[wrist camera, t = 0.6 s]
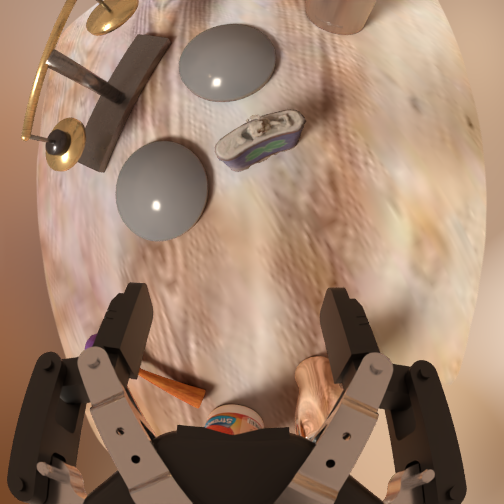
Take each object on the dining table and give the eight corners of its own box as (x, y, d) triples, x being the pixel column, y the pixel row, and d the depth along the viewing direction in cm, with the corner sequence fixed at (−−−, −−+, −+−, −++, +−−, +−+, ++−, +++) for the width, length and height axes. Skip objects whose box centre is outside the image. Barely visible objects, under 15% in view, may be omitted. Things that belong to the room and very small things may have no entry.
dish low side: (142, 131, 33) (138, 129, 32) (225, 163, 33) (223, 162, 32) (108, 216, 36) (103, 217, 34) (184, 256, 35) (181, 258, 34)
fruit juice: (245, 446, 40) (223, 579, 13) (199, 424, 40) (149, 558, 13) (275, 418, 39) (267, 574, 11) (224, 393, 38) (176, 555, 11)
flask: (234, 175, 33) (215, 161, 23) (224, 155, 33) (202, 133, 22) (302, 145, 32) (313, 119, 22) (291, 125, 32) (298, 92, 21)
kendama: (192, 422, 36) (78, 365, 34) (200, 395, 41) (95, 343, 40) (202, 404, 34) (77, 341, 32) (211, 375, 39) (97, 319, 38)
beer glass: (286, 359, 37) (290, 435, 22) (335, 347, 36) (361, 418, 21) (296, 395, 38) (301, 470, 23) (341, 384, 37) (363, 456, 22)
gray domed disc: (208, 21, 30) (207, 17, 28) (290, 43, 30) (290, 39, 28) (165, 87, 32) (162, 84, 31) (249, 115, 32) (249, 112, 31)
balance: (143, 32, 30) (80, -36, 11) (178, 37, 30) (121, -45, 11) (73, 166, 35) (-28, 156, 15) (103, 181, 35) (-7, 173, 15)
